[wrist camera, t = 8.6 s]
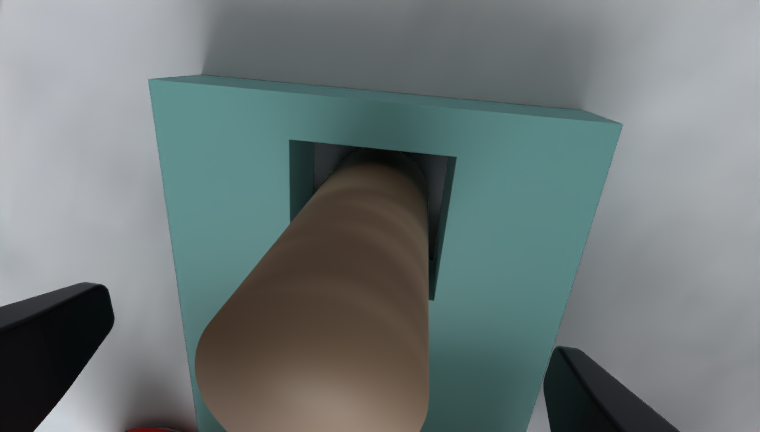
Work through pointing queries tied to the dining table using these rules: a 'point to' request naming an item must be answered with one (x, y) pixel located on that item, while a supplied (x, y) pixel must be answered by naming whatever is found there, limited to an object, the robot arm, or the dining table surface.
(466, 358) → the socket plate
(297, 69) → the dining table surface
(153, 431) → the beverage can
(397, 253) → the walnut peg
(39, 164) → the dining table surface
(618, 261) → the dining table surface
